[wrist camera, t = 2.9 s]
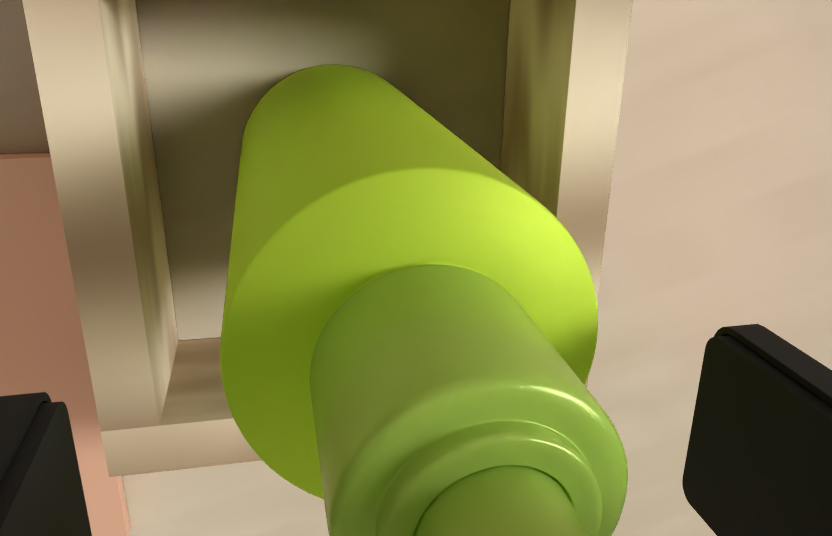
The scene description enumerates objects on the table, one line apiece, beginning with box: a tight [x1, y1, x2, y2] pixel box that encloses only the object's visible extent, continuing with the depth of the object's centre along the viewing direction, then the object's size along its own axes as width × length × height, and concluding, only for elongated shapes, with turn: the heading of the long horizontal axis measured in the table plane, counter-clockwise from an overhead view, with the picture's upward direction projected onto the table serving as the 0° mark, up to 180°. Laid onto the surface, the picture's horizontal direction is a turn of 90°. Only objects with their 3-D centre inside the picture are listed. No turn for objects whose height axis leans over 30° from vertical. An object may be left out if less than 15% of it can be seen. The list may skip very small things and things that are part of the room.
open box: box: [22, 0, 633, 477], centre depth 21 cm, size 14×14×5 cm
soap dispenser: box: [220, 65, 628, 536], centre depth 14 cm, size 6×7×20 cm
